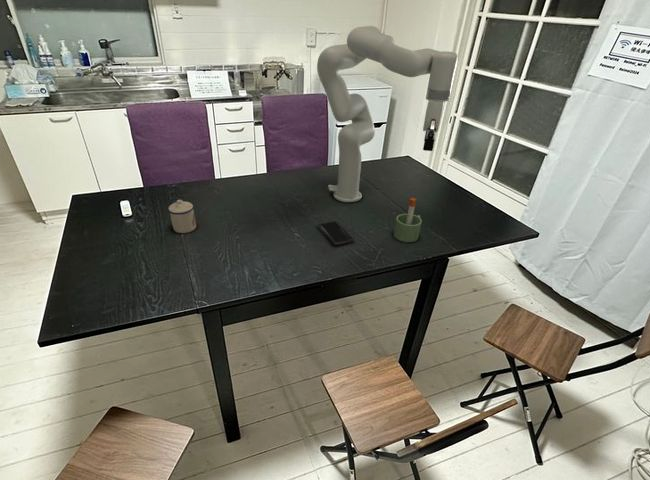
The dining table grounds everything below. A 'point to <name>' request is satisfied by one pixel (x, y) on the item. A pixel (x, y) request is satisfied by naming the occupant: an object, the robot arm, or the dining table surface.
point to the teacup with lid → (182, 216)
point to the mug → (407, 228)
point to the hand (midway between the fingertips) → (428, 146)
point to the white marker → (410, 211)
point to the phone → (335, 233)
